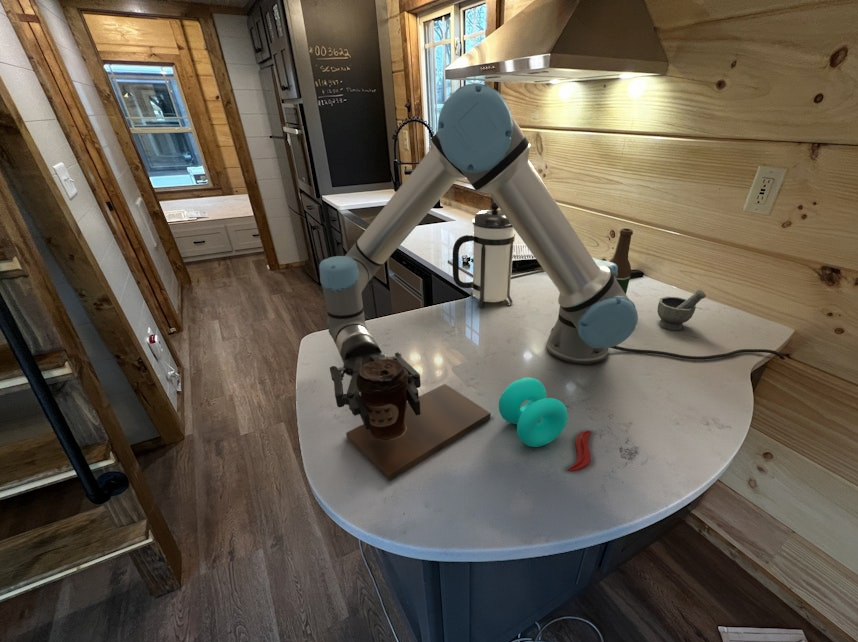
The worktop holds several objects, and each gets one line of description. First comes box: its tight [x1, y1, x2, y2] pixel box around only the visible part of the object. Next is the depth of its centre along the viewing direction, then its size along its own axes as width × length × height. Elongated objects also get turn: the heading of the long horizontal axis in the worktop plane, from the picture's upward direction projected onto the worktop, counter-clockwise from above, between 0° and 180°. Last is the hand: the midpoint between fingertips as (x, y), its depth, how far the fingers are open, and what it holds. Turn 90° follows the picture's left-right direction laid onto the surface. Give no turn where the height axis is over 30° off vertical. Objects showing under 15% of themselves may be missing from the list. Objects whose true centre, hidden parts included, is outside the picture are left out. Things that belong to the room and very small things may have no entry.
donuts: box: [498, 377, 569, 448], centre depth 75 cm, size 10×10×10 cm
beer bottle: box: [608, 227, 634, 295], centre depth 121 cm, size 8×8×24 cm
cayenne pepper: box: [566, 430, 592, 472], centre depth 73 cm, size 12×5×2 cm, turn 142°
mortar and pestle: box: [657, 289, 707, 331], centre depth 114 cm, size 11×9×12 cm
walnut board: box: [345, 383, 491, 481], centre depth 77 cm, size 24×14×2 cm, turn 133°
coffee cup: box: [356, 359, 408, 440], centre depth 68 cm, size 9×8×13 cm
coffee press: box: [452, 201, 516, 309], centre depth 123 cm, size 17×16×30 cm
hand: (393, 415), depth 64 cm, fingers closed on coffee cup, 8 cm apart
